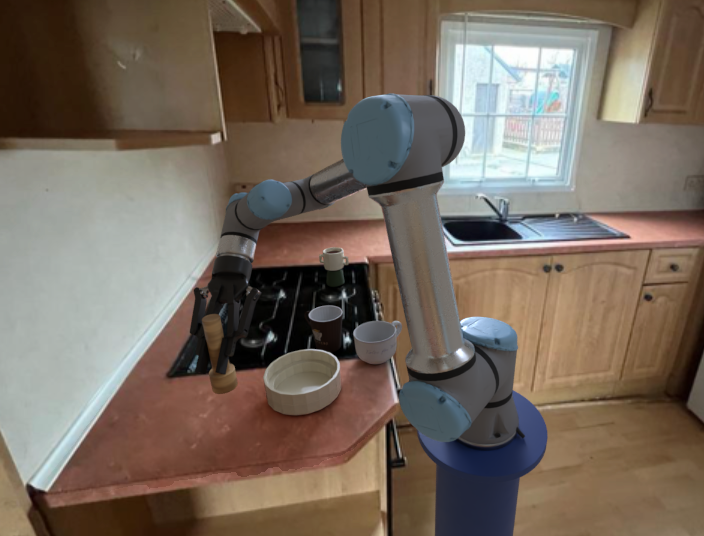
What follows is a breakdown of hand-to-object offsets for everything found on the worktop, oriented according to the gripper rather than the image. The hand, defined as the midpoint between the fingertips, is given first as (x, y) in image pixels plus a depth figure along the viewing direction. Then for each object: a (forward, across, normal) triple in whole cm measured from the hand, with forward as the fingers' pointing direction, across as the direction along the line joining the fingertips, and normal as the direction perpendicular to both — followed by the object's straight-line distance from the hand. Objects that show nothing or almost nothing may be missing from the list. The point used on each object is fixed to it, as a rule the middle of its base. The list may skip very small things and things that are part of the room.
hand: (210, 373), depth 78 cm
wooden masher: (+2, 0, -7) cm, 7 cm away
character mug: (-39, -9, -57) cm, 70 cm away
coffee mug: (-12, -14, -31) cm, 36 cm away
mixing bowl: (+2, -14, -17) cm, 22 cm away
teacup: (-9, -30, -27) cm, 41 cm away
